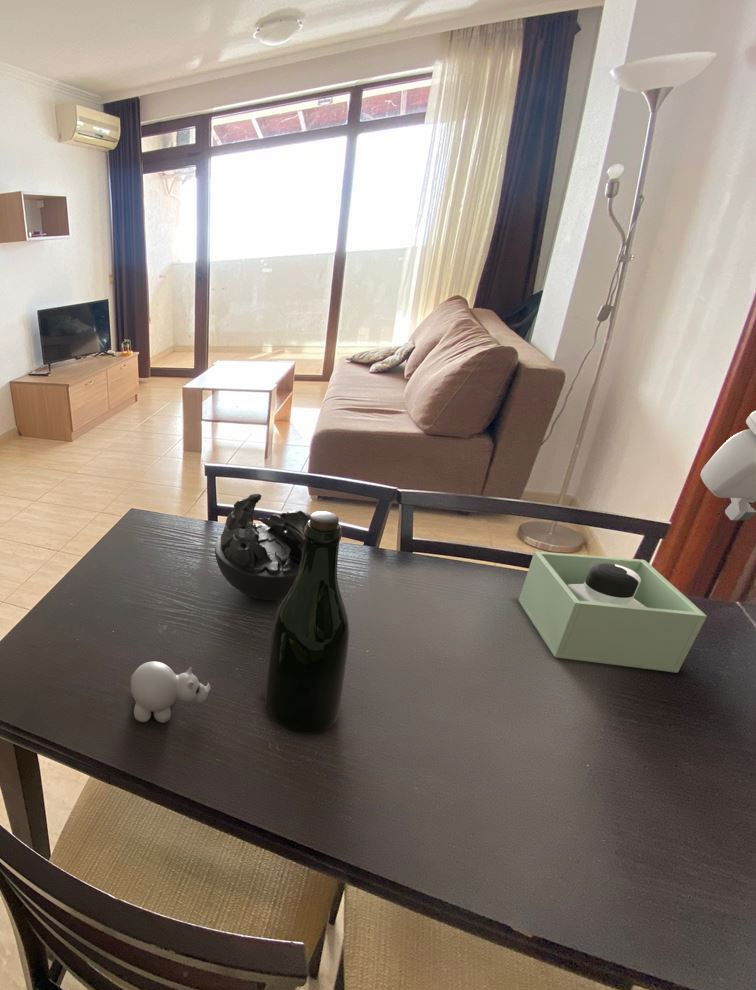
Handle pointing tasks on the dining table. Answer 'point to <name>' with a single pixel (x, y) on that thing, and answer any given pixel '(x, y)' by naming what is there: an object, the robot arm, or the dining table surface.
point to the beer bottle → (310, 636)
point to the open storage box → (609, 615)
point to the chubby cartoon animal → (163, 690)
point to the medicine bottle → (608, 585)
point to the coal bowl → (261, 550)
